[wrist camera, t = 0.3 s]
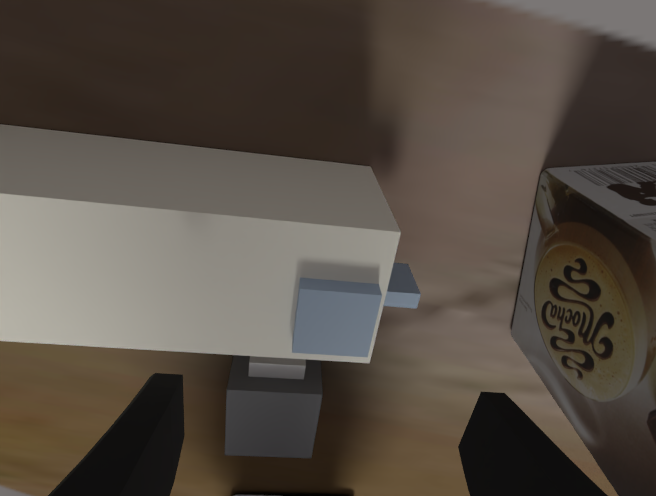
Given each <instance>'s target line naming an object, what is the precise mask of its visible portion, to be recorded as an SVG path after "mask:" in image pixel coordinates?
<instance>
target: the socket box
mask: <svg viewBox="0 0 656 496" xmlns="http://www.w3.org/2000/svg"><path fill="white" fill-rule="evenodd" d="M400 234H401V231H400V229H399V227H398V225H397V223H396V220H395V218H394V216H393V214H392V212H391V210H390V207H389V205H388V203H387V201H386V199H385V197H384V194H383V192H382V190H381V188H380V186H379V184H378V181H377V179H376V177H375V175H374V173H373V171H372V168H371V166H362V165H353V164H344V163H336V162H327V161H318V160H309V159H301V158H292V157H283V156H274V155H266V154H257V153H248V152H239V151H231V150H222V149H213V148H204V147H196V146H187V145H178V144H169V143H161V142H152V141H143V140H134V139H126V138H117V137H108V136H99V135H91V134H82V133H73V132H64V131H56V130H47V129H38V128H29V127H21V126H12V125H3V124H0V341H11V342H28V343H44V344H61V345H77V346H94V347H110V348H127V349H143V350H160V351H176V352H193V353H209V354H226V355H242V356H259V357H275V358H291V359H308V360H324V361H341V362H357V363H370V359H371V355H372V351H373V347H374V343H375V339H376V334H377V330H378V326H379V322H380V318H381V314H382V309H383V306H392V307H405V308H417V306H418V302H419V299H420V295H421V293H420V291H419V289H418V286H417V284H416V282H415V280H414V277H413V275H412V273H411V270H410V268H409V266H408V264H403V263H394V259H395V255H396V251H397V247H398V243H399V239H400Z"/></svg>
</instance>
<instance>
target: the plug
mask: <svg viewBox="0 0 656 496" xmlns="http://www.w3.org/2000/svg"><path fill="white" fill-rule="evenodd" d="M322 396H323V392H322V374H321V360H308V359H291V358H275V357H259V356H242V355H233V360H232V365H231V370H230V376H229V381H228V386H227V396H226V429H225V455H233V456H261V457H289V458H311V457H312V451H313V446H314V440H315V435H316V429H317V423H318V418H319V412H320V407H321V401H322Z"/></svg>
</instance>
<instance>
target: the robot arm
mask: <svg viewBox="0 0 656 496" xmlns="http://www.w3.org/2000/svg"><path fill="white" fill-rule="evenodd" d="M183 439H184V406H183V375H178V374H160V373H155V374H153V375H152V376H151V377H150V378H149V379H148V380H147V382H146V383H145V385H144V386H143V387H142V389H141V390H140V391H139V392H138V394H137V395H136V396H135V398H134V399H133V400H132V401H131V403H130V404H129V405H128V406H127V408H126V409H125V410H124V411H123V413H122V414H121V415H120V416H119V418H118V419H117V420H116V421H115V422H114V424H113V425H112V426H111V427H110V428H109V429H108V431H107V432H106V433H105V434H104V435H103V436H102V437H101V439H100V440H99V441H98V442H97V443H96V444H95V446H94V447H93V448H92V449H91V450H90V451H89V452H88V454H87V455H86V456H85V457H84V458H83V459H82V460H81V461H80V462H79V464H78V465H77V466H76V467H75V468H74V469H73V470H72V471H71V472H70V473H69V474H68V475H67V476H66V477H65V478H64V479H63V480H62V481H61V483H60V484H59V485H58V486H57V487H56V488H55V489H54V490H53V491H52V492H51V493H50V494H49V495H48V496H170V493H171V489H172V486H173V483H174V480H175V475H176V471H177V467H178V462H179V458H180V453H181V449H182V444H183ZM458 448H459V452H460V457H461V461H462V466H463V470H464V474H465V478H466V482H467V486H468V490H469V493H470V496H607V495H606V494H605V493H604V492H603V491H602V490H601V489H600V488H599V487H598V486H597V485H596V484H595V483H594V482H593V481H592V480H590V479H589V478H588V477H587V476H586V475H585V474H584V473H583V472H582V471H581V470H580V469H579V468H578V467H577V466H576V465H575V464H574V463H573V462H572V461H571V460H570V459H569V458H568V457H567V456H566V455H565V454H564V453H563V452H562V451H561V450H560V449H559V448H558V447H557V446H556V445H555V444H554V443H553V442H552V441H551V440H550V439H549V438H548V437H547V436H546V435H545V433H544V432H543V431H542V430H541V429H540V428H539V427H538V426H537V425H536V424H535V423H534V422H533V421H532V420H531V419H530V418H529V417H528V416H527V415H526V414H525V413H524V412H523V411H522V410H521V409H520V408H519V407H518V406H517V405H516V404H515V403H514V402H513V401H512V400H511V399H510V398H509V397H508V396H507V395H506V394H505V393H493V392H481V393H480V396H479V398H478V401H477V403H476V405H475V408H474V410H473V413H472V415H471V418H470V420H469V422H468V425H467V427H466V430H465V432H464V434H463V437H462V439H461V442H460V444H459V446H458ZM234 496H281V495H234Z"/></svg>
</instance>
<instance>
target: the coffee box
mask: <svg viewBox="0 0 656 496" xmlns="http://www.w3.org/2000/svg"><path fill="white" fill-rule="evenodd" d="M511 335H512V337H513V339H514V341H515V342H516V343H517V345H518V346H519V348H520V349H521V351H522V352H523V354H524V355H525V356H526V358H527V359H528V361H529V362H530V364H531V365H532V367H533V368H534V370H535V371H536V373H537V374H538V375H539V377H540V378H541V380H542V382H543V383H544V385H545V386H546V388H547V389H548V391H549V392H550V394H551V395H552V397H553V399H555V401H556V403H557V404H558V406H559V407H560V408H561V410H562V411H563V413H564V414H565V416H566V417H567V419H568V420H569V422H570V423H571V424H572V426H573V427H574V429H575V431H576V432H577V434H578V435H579V437H580V438H581V440H582V441H583V443H584V444H585V446H586V447H587V449H588V450H589V451H590V453H591V454H592V456H593V457H594V459H595V461H596V462H597V464H598V465H599V467H600V468H601V470H602V471H603V473H604V474H605V476H606V477H607V479H608V480H609V482H610V483H611V485H612V486H613V487H614V489H615V491H616V492H617V494H618V495H619V496H656V161H655V162H639V163H623V164H607V165H590V166H574V167H559V168H548V169H545V170H544V171H543V172H542V173H541V176H540V181H539V186H538V191H537V196H536V201H535V207H534V212H533V217H532V222H531V228H530V233H529V239H528V244H527V250H526V255H525V260H524V266H523V271H522V277H521V282H520V288H519V293H518V298H517V304H516V309H515V314H514V320H513V325H512V330H511Z"/></svg>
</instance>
